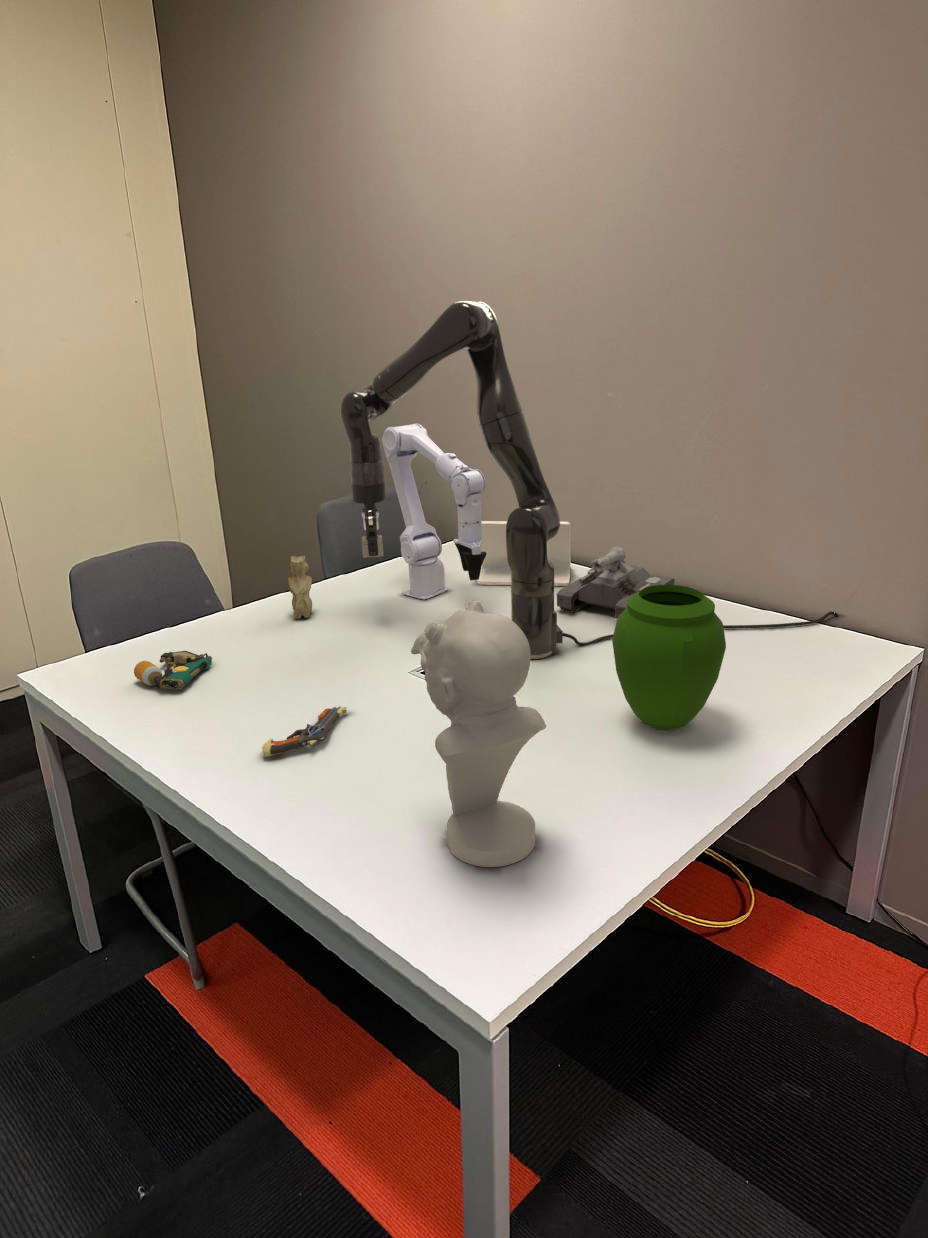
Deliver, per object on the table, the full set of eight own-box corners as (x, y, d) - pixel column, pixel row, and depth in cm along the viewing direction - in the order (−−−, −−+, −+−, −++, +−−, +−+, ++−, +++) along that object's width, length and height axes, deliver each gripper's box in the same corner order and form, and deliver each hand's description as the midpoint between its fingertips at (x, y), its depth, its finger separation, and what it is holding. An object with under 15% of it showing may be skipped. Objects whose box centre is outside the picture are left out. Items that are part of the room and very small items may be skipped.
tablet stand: (569, 585, 229) (570, 524, 223) (476, 584, 232) (475, 523, 226) (570, 566, 246) (571, 508, 240) (484, 564, 249) (483, 507, 243)
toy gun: (257, 746, 146) (311, 744, 144) (298, 704, 164) (347, 701, 161) (260, 761, 146) (314, 759, 144) (300, 717, 164) (349, 715, 162)
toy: (603, 584, 229) (605, 530, 224) (673, 597, 218) (677, 540, 213) (555, 612, 210) (556, 553, 205) (630, 627, 199) (633, 566, 194)
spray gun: (177, 659, 191) (231, 671, 185) (120, 684, 176) (176, 698, 171) (176, 641, 190) (230, 653, 184) (118, 665, 175) (174, 678, 169)
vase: (732, 711, 158) (744, 587, 150) (698, 758, 143) (709, 622, 134) (633, 689, 168) (638, 571, 159) (591, 730, 153) (595, 602, 144)
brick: (363, 552, 202) (361, 536, 200) (383, 551, 202) (382, 534, 201) (362, 557, 198) (361, 540, 196) (383, 556, 198) (382, 539, 197)
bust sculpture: (481, 772, 140) (476, 569, 128) (565, 848, 120) (569, 617, 108) (392, 800, 134) (378, 588, 121) (465, 886, 114) (457, 642, 101)
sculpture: (316, 609, 217) (311, 553, 212) (313, 619, 210) (307, 561, 205) (293, 610, 217) (287, 554, 211) (289, 620, 210) (283, 562, 205)
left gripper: (447, 515, 211) (449, 567, 216) (459, 529, 198) (461, 585, 203) (475, 513, 213) (476, 565, 217) (489, 527, 199) (490, 582, 204)
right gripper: (351, 475, 200) (357, 546, 206) (350, 487, 187) (357, 562, 193) (383, 473, 201) (388, 544, 207) (385, 485, 188) (390, 560, 194)
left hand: (471, 574), depth 210 cm, fingers open, 7 cm apart
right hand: (373, 552), depth 200 cm, fingers closed on brick, 4 cm apart
